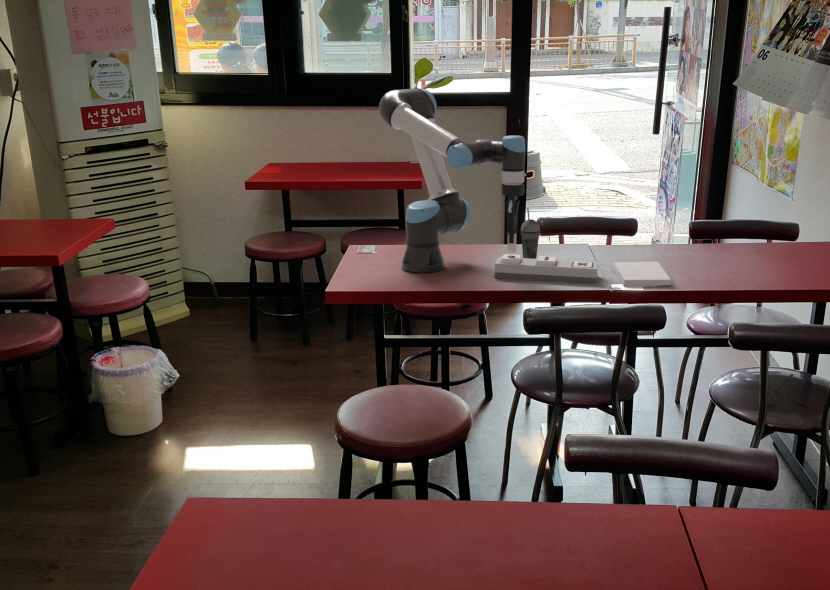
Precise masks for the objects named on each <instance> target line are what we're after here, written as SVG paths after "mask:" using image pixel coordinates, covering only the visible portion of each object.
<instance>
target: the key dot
mask: <svg viewBox="0 0 830 590" xmlns="http://www.w3.org/2000/svg"><path fill="white" fill-rule="evenodd" d="M501 257H502V258H501V263H507V264H520V263H521V258H522V254H511V253H510V254H509V253H508V254H507V253H504V254H503V255H502V256H501Z"/></svg>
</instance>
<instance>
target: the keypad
mask: <svg viewBox="0 0 830 590" xmlns="http://www.w3.org/2000/svg"><path fill="white" fill-rule="evenodd" d="M502 257H503V256H498V258H497V259H496V261H495V263H494V272H493V274H494V277H497V278H496V279H507V278H510V279H509V280H524V279H530V280H529V281H541V280H546V281H545V282H558V281H563V283H575V282H579V283H580V284H592V283H596V282H597V281H598V277H599V275H598V273H599V262H598V261H590V262H591V263H592V268H581V267H573V264H574V262H586V260H585V261H583V260H562V259H556V266H544V265H537V259H538V258H536V259H528V258H523V257H521V263H520V264H507V263H501V258H502ZM494 277H493V278H494ZM498 277H499V278H498ZM564 281H565V282H564ZM596 284H597V283H596Z"/></svg>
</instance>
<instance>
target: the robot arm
mask: <svg viewBox="0 0 830 590" xmlns="http://www.w3.org/2000/svg"><path fill="white" fill-rule="evenodd" d="M437 106H438V105H437V101H436V99H435V96H434V95H433V94H432V92H430V91H429V90H428V89H426V88H419V87H412V88H406V89H392V90H390V91H388V92H386V93H385V94H384V95H383V96H382V97H381V99H380V102H379V105H378V112H379V115H380V117H381V118H382V120H383V121H384V122H385V123H386V124H387V125H388V126H390V127H391V128H393V129H394V130H402V131H404V132H405V133H406V134H408V135H410V137H411V140H412V143H413V146H414V150H415V152H416V156H417V159H418V162H419V166H420V169H421V172H422V175H423V178H424V180H425V181H424V182H425V184H426V187H427V189H428V194H429V198H428V199H423V200H417V201H414V202H412V203H410V204H408V205H407V207H406V210H405V213H406V214H405V229H406V230H405V231H406V232H405V233H406V248H405V251H404V255H403V258H402V260H401V268H403V269H402V270H404V271H406V270H407V271H406V272H409V271H410V273H415V272H417V274H419V273H420V274H428V272H430V273H435V272H439V271H440V272H441V271H442V270H444V269H445V260H444V259H445V258H444V257H443V253H442V251H441V248H440V236H442V235H447V234H451V233H456V232H459V231H461V230H463V229H465V228H466V227H467V226H468V224H469V223H470V220H471V215H472V211H471V207H470V204H469V203H468V200H465V199H464V198H463V197H460V194H459V191H458V190H456V189H454V188H453V186H452V182H451V179H450V176H449V173H448V171H447V167H446V164H445V161H444V157H445V158H446V161H447V163H448V165H449V166H450V167H451V168H454V169H466V168H468V167H470V168H471V167H474V166H475V167H476V166H479V165H480V166H481V165H485V164H498V165H501V182H502V183H501V195H503V196H505V197H507V200H506V201H505V206H506V207H505V210H506V211H505V212H506V231H505V235H506V234H507V248H506V249H507V253H513V254H514V253H516V252H517V233H519V231H520V230H518V220H519V219H518V218H519V217H518V215H519V205H520V199H518V197H521V196H523V195H525V184H524V182H525V177H526V176H527V174H526V173H525V168H526V167H525V163H526V161H525V159H526V139H525V137H524V136H522V135H505V136H502V140H492V139H477V140H475V141H474V142H466V141H464V140H463V139H461V138H460V137H458V136H456V135H455V134H453V133H451V132H450V131H448V130H446V129H445V128H443V127H441V126H440V125H438V124H436V123H435V121H436V119H435V115H436V114H437V108H438V107H437ZM443 156H444V157H443Z"/></svg>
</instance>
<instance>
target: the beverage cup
mask: <svg viewBox="0 0 830 590" xmlns="http://www.w3.org/2000/svg"><path fill="white" fill-rule="evenodd" d="M529 209H530V208H529V207H526V210H527V211H526V212H527V220H525V221H524V222H523V223H522V224H521V227H520V230H519V231H520V237H521V246H522V258H528V259H537V258H538V248H539V238H540V235H541V231H542V230H541V227H540V224H539V223H538V222H537V220H534V219H530V210H529Z"/></svg>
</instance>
